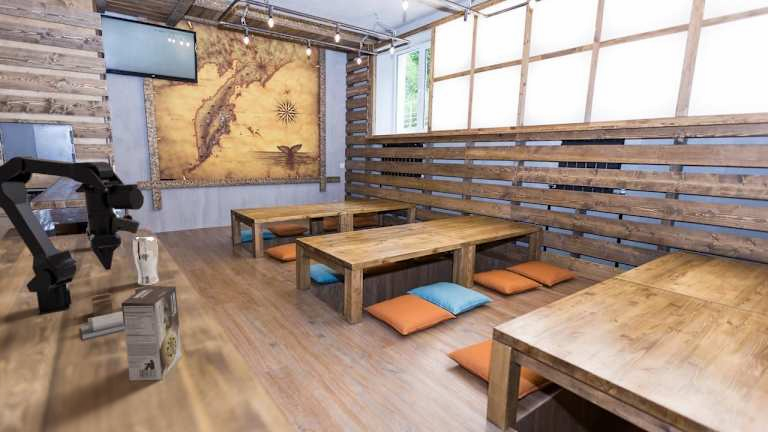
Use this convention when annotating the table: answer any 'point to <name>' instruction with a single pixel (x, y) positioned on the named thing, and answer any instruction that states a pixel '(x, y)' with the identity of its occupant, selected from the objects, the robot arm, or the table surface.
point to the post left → (102, 305)
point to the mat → (99, 331)
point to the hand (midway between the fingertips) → (106, 265)
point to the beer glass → (146, 259)
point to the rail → (105, 321)
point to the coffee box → (151, 332)
